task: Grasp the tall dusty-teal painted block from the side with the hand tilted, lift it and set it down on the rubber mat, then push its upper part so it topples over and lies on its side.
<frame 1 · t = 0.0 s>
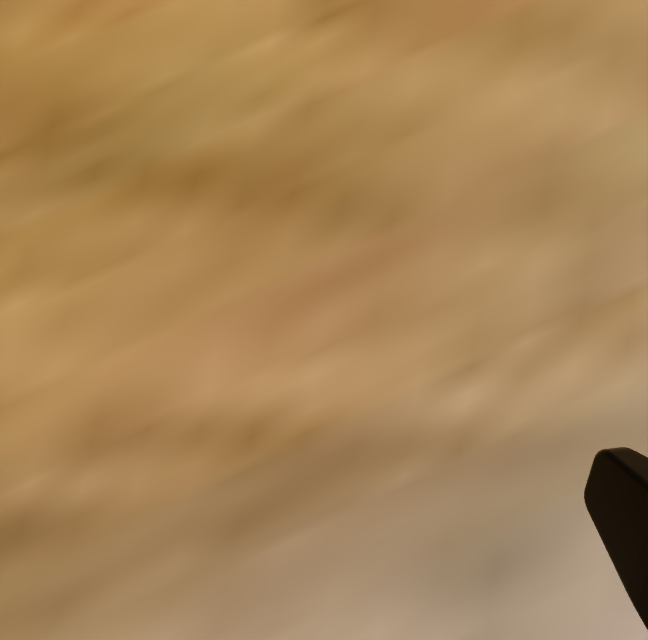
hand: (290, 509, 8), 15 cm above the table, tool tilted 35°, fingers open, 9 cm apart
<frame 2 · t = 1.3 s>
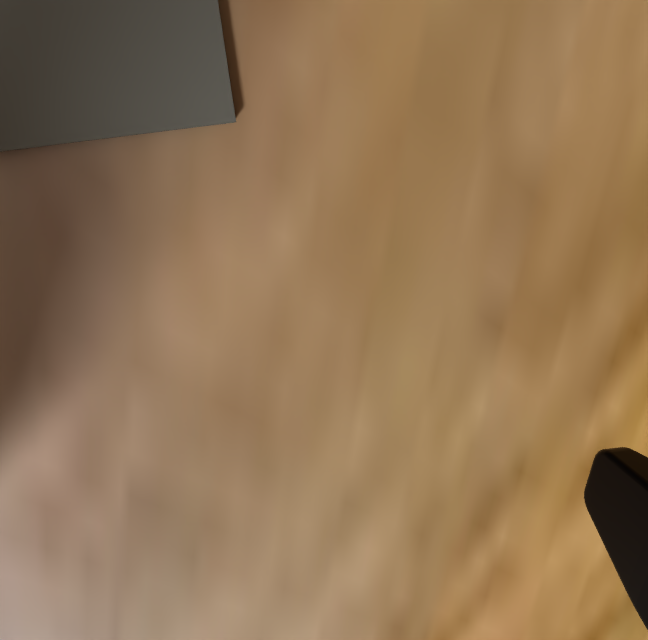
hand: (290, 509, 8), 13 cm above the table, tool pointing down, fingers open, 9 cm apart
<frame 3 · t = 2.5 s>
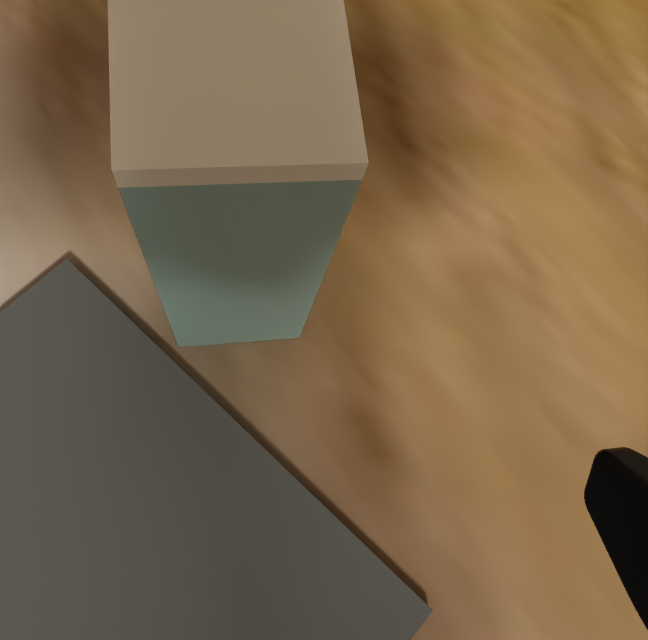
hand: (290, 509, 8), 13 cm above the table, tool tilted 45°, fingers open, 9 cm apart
mat: (94, 582, 19), on the table
block: (235, 286, 23), on the table
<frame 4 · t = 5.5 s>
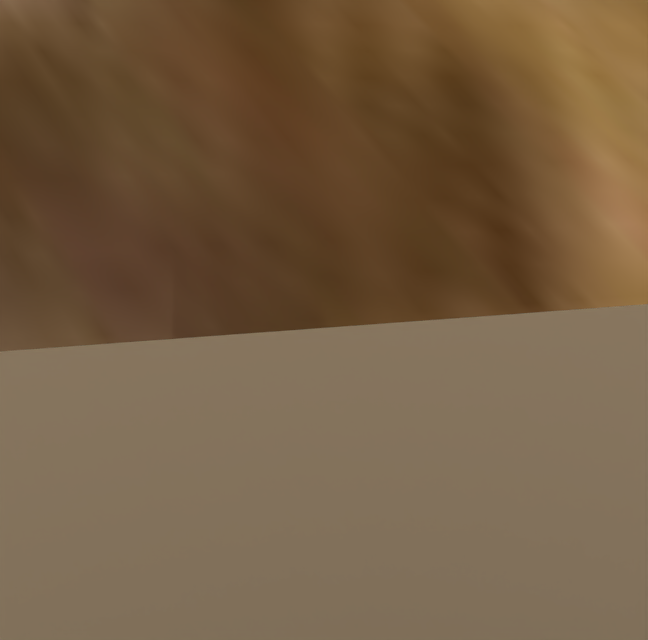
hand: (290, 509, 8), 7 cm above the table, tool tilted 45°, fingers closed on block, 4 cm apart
block: (271, 567, 14), on the table, touching gripper
when the fingers open (8 cm above the table, at t = 7.9 s): block stays where it is, resting on mat.
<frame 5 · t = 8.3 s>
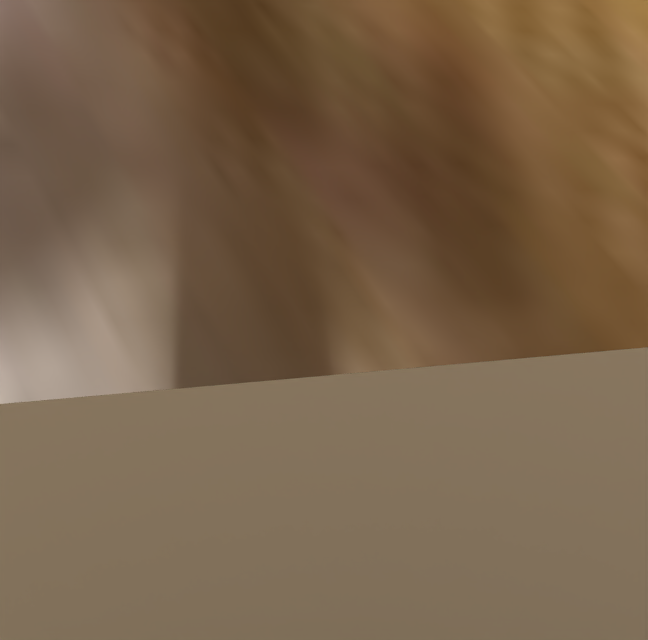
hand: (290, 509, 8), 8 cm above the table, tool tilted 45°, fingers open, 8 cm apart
block: (270, 563, 15), resting on mat
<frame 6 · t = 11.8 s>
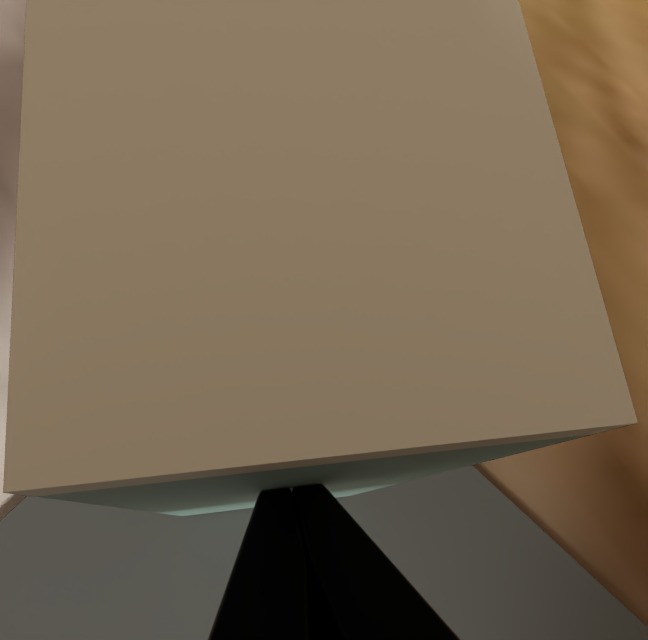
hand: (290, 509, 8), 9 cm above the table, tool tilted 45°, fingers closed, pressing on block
block: (260, 422, 17), resting on mat, touching gripper
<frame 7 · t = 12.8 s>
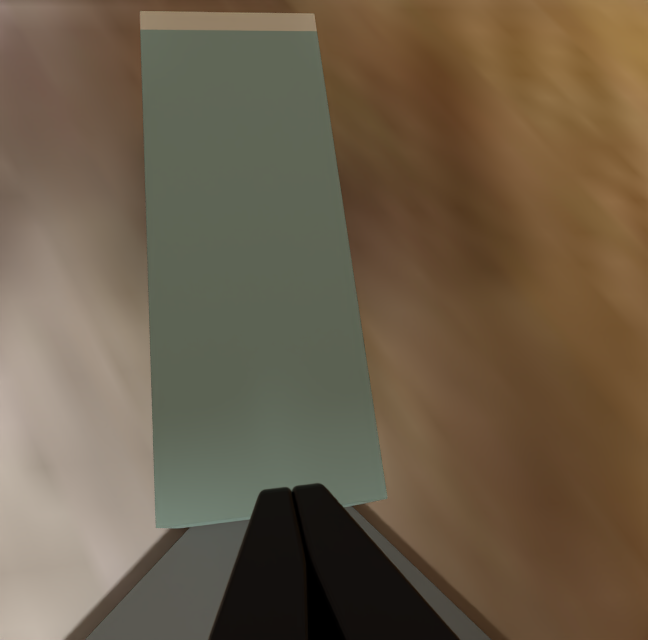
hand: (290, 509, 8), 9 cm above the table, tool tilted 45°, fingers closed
block: (269, 515, 14), point 3 cm above the table, tilted 92°, touching mat
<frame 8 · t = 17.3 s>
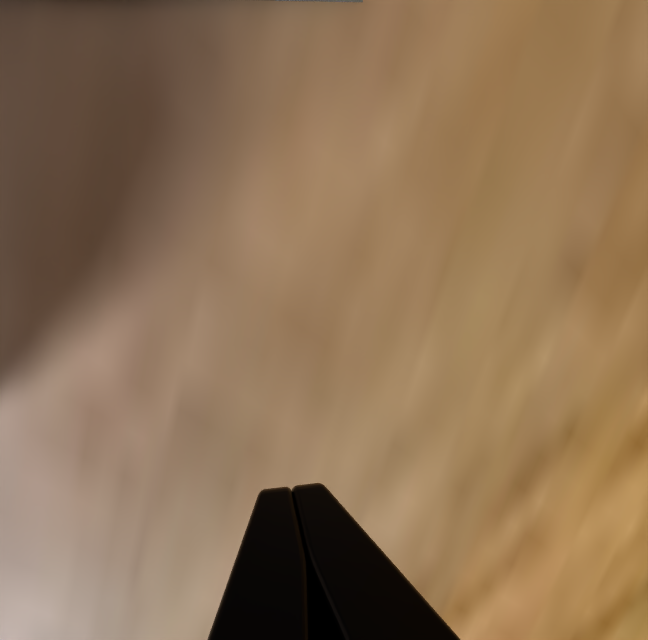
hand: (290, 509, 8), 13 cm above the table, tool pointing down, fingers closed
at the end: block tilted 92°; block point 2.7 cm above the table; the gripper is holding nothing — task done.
